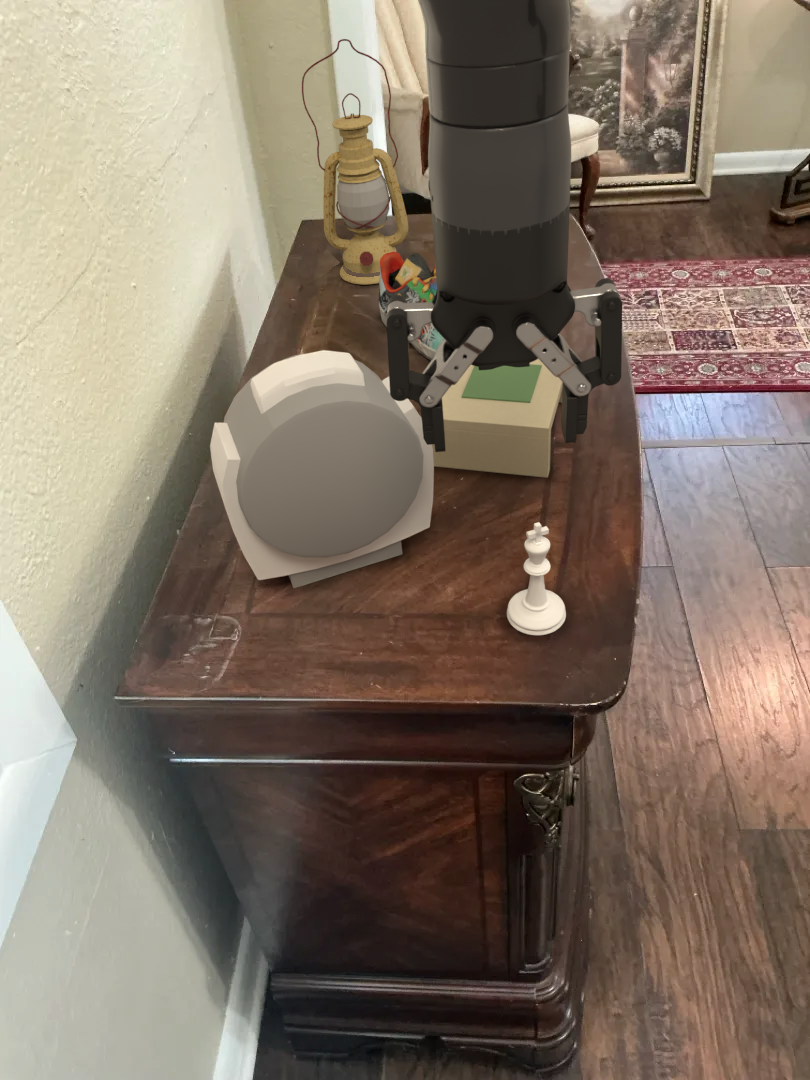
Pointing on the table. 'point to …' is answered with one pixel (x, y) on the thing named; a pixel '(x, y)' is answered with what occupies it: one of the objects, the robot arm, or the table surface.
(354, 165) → the lantern
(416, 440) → the alarm clock
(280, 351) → the table surface
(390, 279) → the sneaker
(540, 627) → the chess piece
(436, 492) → the table surface
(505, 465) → the box with green top
